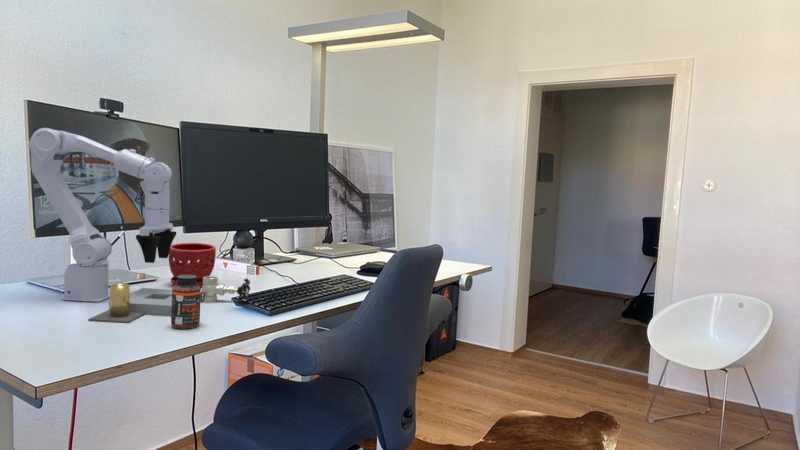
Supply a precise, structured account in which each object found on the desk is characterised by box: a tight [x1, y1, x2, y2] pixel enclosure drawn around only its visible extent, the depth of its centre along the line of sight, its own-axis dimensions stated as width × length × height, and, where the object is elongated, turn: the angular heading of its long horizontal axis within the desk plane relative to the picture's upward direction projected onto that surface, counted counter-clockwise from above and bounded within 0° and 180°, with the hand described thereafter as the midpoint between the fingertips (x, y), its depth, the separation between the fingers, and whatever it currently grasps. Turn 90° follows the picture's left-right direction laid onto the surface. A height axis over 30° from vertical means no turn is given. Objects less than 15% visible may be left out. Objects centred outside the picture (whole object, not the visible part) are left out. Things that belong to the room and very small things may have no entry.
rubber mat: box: [87, 309, 145, 324], centre depth 122 cm, size 9×9×1 cm
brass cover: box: [109, 281, 131, 317], centre depth 122 cm, size 4×4×7 cm
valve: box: [201, 275, 251, 304], centre depth 141 cm, size 7×7×12 cm
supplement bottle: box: [170, 275, 202, 330], centre depth 118 cm, size 6×6×11 cm
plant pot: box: [168, 242, 217, 288], centre depth 158 cm, size 13×13×12 cm
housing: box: [108, 287, 203, 317], centre depth 133 cm, size 16×16×2 cm
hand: (156, 260), depth 139 cm, fingers open, 7 cm apart
